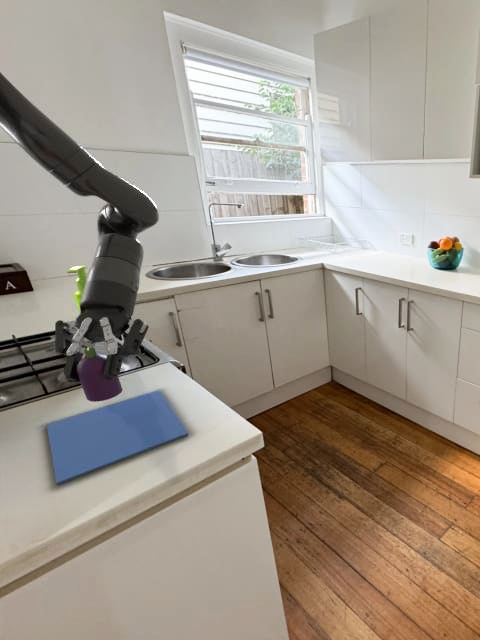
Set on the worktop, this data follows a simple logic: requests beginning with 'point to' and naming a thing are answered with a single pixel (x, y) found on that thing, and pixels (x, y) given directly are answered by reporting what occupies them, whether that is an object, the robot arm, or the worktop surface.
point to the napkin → (111, 434)
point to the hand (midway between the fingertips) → (90, 378)
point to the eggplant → (96, 377)
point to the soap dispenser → (79, 282)
